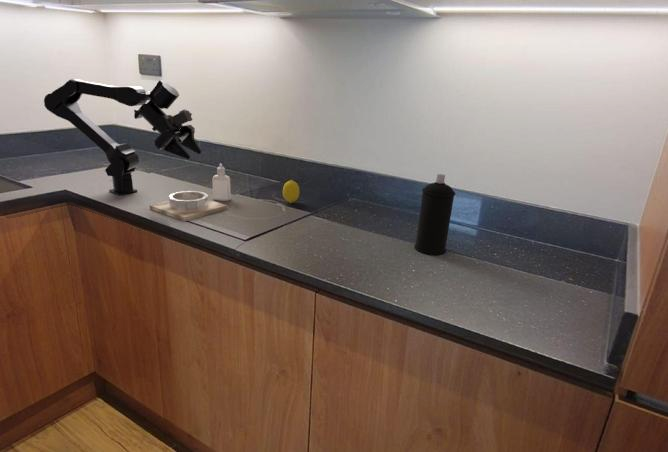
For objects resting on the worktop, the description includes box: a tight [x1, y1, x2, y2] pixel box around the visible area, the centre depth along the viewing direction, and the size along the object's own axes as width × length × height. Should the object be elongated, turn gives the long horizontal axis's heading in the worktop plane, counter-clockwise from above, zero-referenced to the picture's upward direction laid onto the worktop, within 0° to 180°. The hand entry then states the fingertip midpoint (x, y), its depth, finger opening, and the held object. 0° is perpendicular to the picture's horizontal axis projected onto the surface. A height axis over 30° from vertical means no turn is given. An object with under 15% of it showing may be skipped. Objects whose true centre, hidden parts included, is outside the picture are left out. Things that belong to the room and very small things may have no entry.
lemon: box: [282, 179, 300, 204], centre depth 141 cm, size 6×6×8 cm
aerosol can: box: [414, 173, 456, 256], centre depth 108 cm, size 8×8×20 cm
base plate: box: [149, 199, 228, 222], centre depth 130 cm, size 16×16×1 cm
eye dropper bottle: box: [211, 163, 232, 202], centre depth 140 cm, size 4×6×12 cm
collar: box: [168, 190, 209, 211], centre depth 129 cm, size 11×11×3 cm
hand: (195, 155), depth 137 cm, fingers open, 9 cm apart
